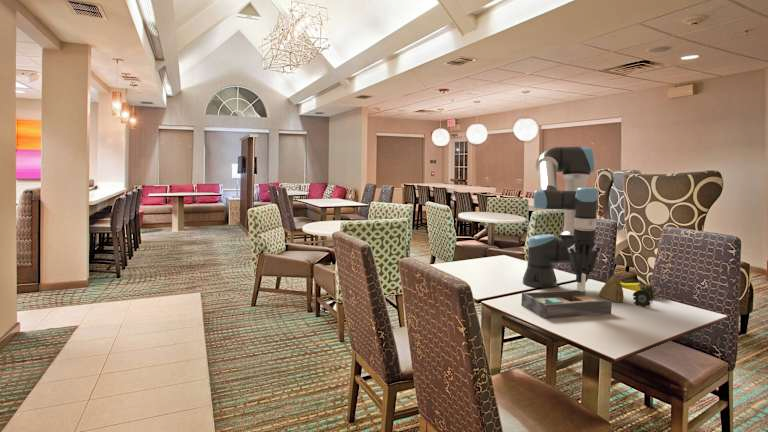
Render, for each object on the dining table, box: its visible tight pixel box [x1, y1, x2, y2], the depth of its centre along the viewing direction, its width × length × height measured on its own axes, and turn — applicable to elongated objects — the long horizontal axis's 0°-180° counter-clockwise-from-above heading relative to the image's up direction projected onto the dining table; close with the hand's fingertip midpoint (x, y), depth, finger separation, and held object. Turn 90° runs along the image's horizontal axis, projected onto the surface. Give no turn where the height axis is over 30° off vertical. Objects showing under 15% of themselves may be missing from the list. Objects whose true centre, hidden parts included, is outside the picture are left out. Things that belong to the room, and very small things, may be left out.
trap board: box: [520, 289, 613, 319], centre depth 173 cm, size 16×28×5 cm, turn 103°
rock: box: [598, 274, 625, 303], centre depth 188 cm, size 11×9×10 cm
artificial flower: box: [632, 279, 662, 308], centre depth 187 cm, size 9×22×10 cm, turn 134°
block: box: [545, 298, 563, 304], centre depth 168 cm, size 5×5×4 cm
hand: (580, 290), depth 171 cm, fingers closed
